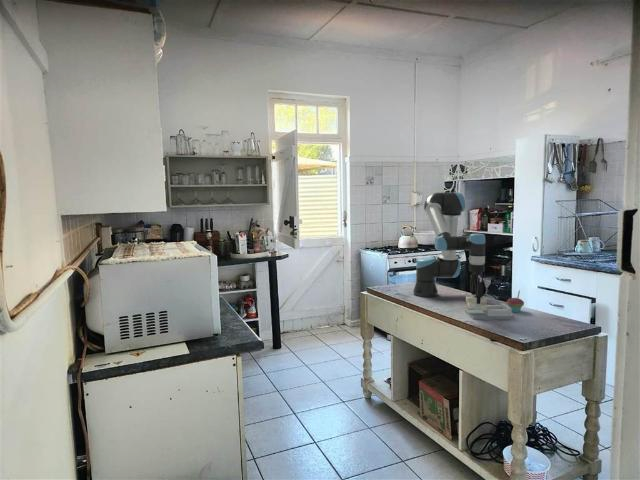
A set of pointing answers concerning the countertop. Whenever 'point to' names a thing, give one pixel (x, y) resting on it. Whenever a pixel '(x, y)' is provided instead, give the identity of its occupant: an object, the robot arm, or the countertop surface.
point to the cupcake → (515, 303)
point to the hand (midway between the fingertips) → (475, 308)
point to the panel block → (471, 303)
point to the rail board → (484, 315)
